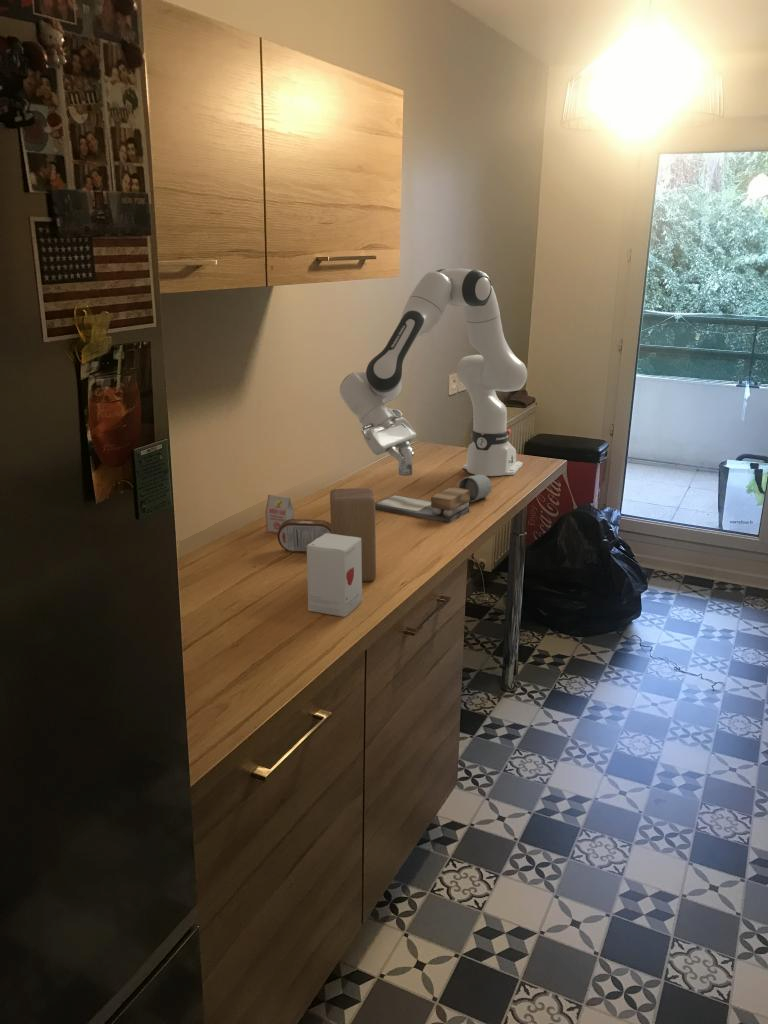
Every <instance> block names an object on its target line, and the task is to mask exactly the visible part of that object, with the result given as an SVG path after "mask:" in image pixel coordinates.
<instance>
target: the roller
mask: <svg viewBox="0 0 768 1024" xmlns="http://www.w3.org/2000/svg"><path fill="white" fill-rule="evenodd" d="M397 449H398V450H397V451H398V452H399V453H400V454H401V453H402V454H403V455H404V456H405V459H404V460H403V461H401V462H399V461H398V476H403V477H410V476H412V475H413V457H412V451H413V447H412V446H400V447H398V448H397Z"/></svg>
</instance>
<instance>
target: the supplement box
mask: <svg viewBox="0 0 768 1024" xmlns="http://www.w3.org/2000/svg"><path fill="white" fill-rule="evenodd" d="M306 567H307V569H306V571H307V574H306V576H307V603H308V606H307V607H308V609H307V610H308V611H309V612H314V613H320V614H325V615H331V616H336V617H342V618H346V617H347V616H349V614H351V613H352V612H353V611H354V610H355V609H356V608H357V607H358V606H360V603H361V604H362V603H363V581H362V556H361V538H358V537H352V536H343V535H337V534H330V533H325V534H324V535H322V536H321V537H319V538H317V539H315V540H314V541H313V542H312V543H310V544H308V545H307V553H306Z"/></svg>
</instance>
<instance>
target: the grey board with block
mask: <svg viewBox="0 0 768 1024" xmlns="http://www.w3.org/2000/svg"><path fill="white" fill-rule="evenodd" d="M468 500H470V490H468V489H462V488H458V487H454V486H450V487H449V488H447V489H444V490H442V491H441V492H439V493H437V494H435V495H433V496H431V500H427V499H420V498H414V497H408V496H403V495H396V494H392V495H389V496H388V497H385V498H384V499H381V500H379V501H375V510H378V511H383V512H388V513H394V514H395V513H396V514H399V515H404V514H405V516H410V515H411V516H410V517H415V516H416V518H421V517H422V518H423V519H426V518H428V520H432V519H434V520H433V521H437V520H440V521H439V522H443V521H446V522H445V523H448V522H450V523H452V522H454V521H456V520H457V519H459V518H461V517H463V516H464V515H466V514H468V513H469V512H470V507H469V506H470V502H468ZM462 515H463V516H462ZM460 516H461V517H460ZM458 517H459V518H458ZM455 519H456V520H455ZM453 520H454V521H453ZM451 521H452V522H451Z"/></svg>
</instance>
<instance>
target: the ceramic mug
mask: <svg viewBox="0 0 768 1024" xmlns="http://www.w3.org/2000/svg"><path fill="white" fill-rule="evenodd" d="M457 488H462V489H468V490H470V500H468V502H469V503H474V502H476V501H479V500H482V499H483V498H486V497H488V496H489V495H490V494H491V491H492V489H493V486H492V482H491V480H490V479H489V476H485V475H475V474H473V475H470V476H465V477H463V478H462V479H461V480H460V481H459V483H458V487H457Z"/></svg>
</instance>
